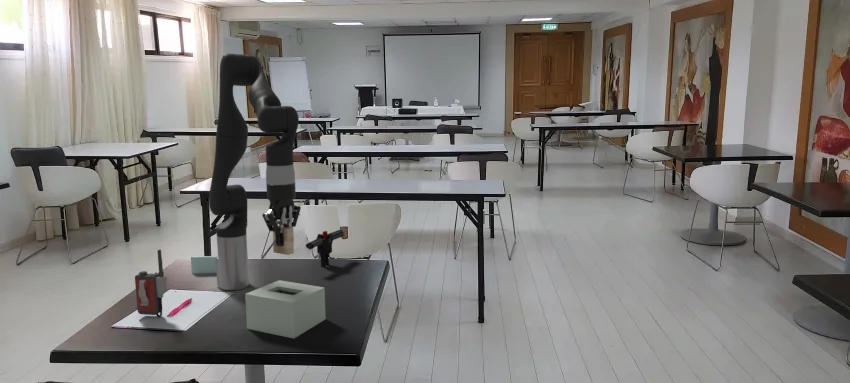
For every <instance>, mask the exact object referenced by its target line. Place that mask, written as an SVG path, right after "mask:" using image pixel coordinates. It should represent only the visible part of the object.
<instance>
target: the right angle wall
mask: <svg viewBox="0 0 850 383" xmlns="http://www.w3.org/2000/svg"><path fill="white" fill-rule="evenodd" d="M216 258H218V255H209V256H208V255H205V256H203V255H202V256H201V255H200V256H198V255H197V256H190V266H191V274H212V273H213V274H217V272H216Z"/></svg>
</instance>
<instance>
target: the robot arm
mask: <svg viewBox="0 0 850 383" xmlns="http://www.w3.org/2000/svg"><path fill="white" fill-rule="evenodd" d="M219 63H220V64H219V65H220V66H219V102H218V114H217V124H216V125H217V126H216V133H215V134H216V135H215V148H214V149H215V152H214V163H213V165H214V166H213V170H212V171H213V173H212V176H211V180H210V181H211V183H210V188H209V193H208V205H209V209H210V212H211V213H212V214H213V215H214V216H216V217H217V216H227V215H229V218H227V220H225V221H224V222H222V223H221V224H219V225H218V226H217V227H216V233H215V234H216V245H217V246H216V247H217V256H218V258H216V272H217V273H216V284H217V285H216V286H217V287H218V288H219V289H222V290H224V291H236V290H242V289H245V288H247V287H248V286H249V285H250V279H249V278H250V276H249V258H248V256H249V255H248V239H247V238H248V236H247V229H248V195H247V191H246V189H245V188H244V186H243V185H242V184H229V183H228V182H229V179H230V177H231V175H232V173H233V172H232V171H234V169H235V167H237V165H238V163H239V162H240V161H241V159H242V158H243V156H244V155H245V152H246V151H247V146H248V138H249V137H248V136H249V135H248V134H249V128H248V124H247V122H246V120H245V118H244V116H243V115H242V113H241V112H240V109H239V107H238V105H237V103H236V101H235V98H234V87H235V86H237V87H250V88H249V90H248V94H247V95H248V100H249V103H250V104H251V106H252V108H253V109H254V111H255V113H256V117H257V118H256V119H257V126H258V129H259V130H260V131H262V132H263V133H265V134H282V135H281V138H279V139H278V140H276V141H273V142H269V143H268V144H267V145H266V146H265V147H266V148H265V160H266V169H265V170H266V171H265V183H266V185H265V186H266V199H267V200H268V201H269V207H268V209H269V210H268V211H267V212H263V213H262V218H263V221H264V223H265V225H266V226H267V227H266V228H268V231H269V232H272V233H273V232H275V238H276V245H277V246H281V247H282V246H284V236H283V231H284V226H285V227H291V228H295V227H296V226H297V222H298V219H299V216H300V212H301V209H302V208H301V206H300V205H296V204H295V202H294V199H296V197H297V196H296V194H297V191H296V173H295V172H296V171H295V167H294V166H295V165H294V144H295V140H296V136H297V131H298V127H299V122H300V121H299V114H298V111H297V109H296V108H294V107H293V106H289V105H282V102H281V100H280V99H279V97H278V96H277V95H276V93H275V92H274V91H273V89H272V88H271V86H270V84H269V81H268V78H267V76H266V74H265V71H264V69H263V66H262V64H261V62H260V61H259V59H258V58H257V57H255V56H254V55H251V54H240V53H230V52H228V53H223V55H222V57H221V59H220V62H219ZM228 184H229V185H228ZM278 226H279V227H278Z"/></svg>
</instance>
